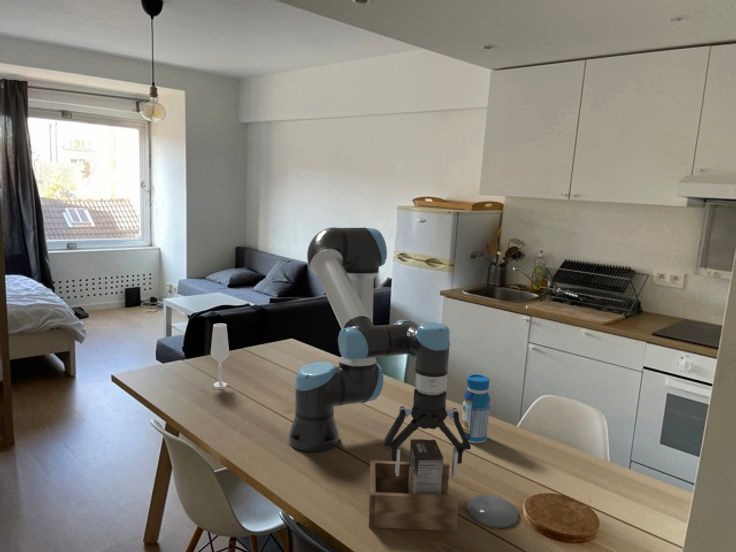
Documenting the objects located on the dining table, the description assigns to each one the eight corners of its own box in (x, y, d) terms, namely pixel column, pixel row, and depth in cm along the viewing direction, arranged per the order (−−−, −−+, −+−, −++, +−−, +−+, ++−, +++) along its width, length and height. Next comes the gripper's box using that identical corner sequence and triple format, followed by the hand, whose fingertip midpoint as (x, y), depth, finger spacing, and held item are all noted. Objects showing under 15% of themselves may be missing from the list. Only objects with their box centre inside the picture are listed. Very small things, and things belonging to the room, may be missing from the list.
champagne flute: (223, 381, 204) (223, 321, 200) (232, 386, 199) (232, 325, 195) (207, 385, 199) (207, 324, 195) (216, 390, 194) (216, 328, 190)
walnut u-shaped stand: (368, 527, 119) (370, 495, 118) (369, 489, 135) (370, 460, 133) (456, 530, 119) (458, 498, 118) (446, 492, 135) (448, 463, 133)
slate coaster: (472, 526, 121) (472, 523, 121) (463, 497, 133) (463, 494, 133) (524, 529, 121) (524, 526, 121) (510, 499, 133) (510, 496, 133)
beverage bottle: (481, 447, 160) (487, 384, 157) (456, 439, 164) (460, 378, 161) (491, 436, 167) (496, 376, 164) (466, 429, 171) (470, 371, 168)
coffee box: (406, 498, 131) (409, 438, 129) (431, 498, 132) (435, 438, 129) (412, 521, 122) (416, 457, 120) (439, 521, 123) (444, 457, 120)
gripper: (377, 393, 118) (373, 480, 121) (487, 397, 118) (480, 484, 121) (376, 382, 126) (373, 464, 129) (480, 385, 126) (474, 468, 129)
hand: (425, 474), depth 125 cm, fingers open, 13 cm apart
